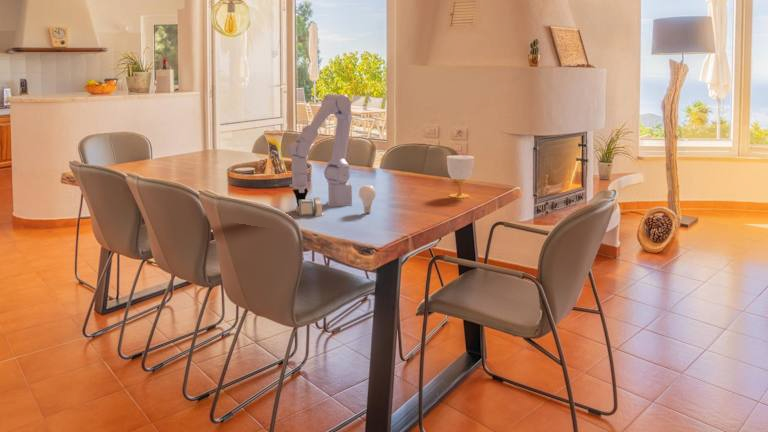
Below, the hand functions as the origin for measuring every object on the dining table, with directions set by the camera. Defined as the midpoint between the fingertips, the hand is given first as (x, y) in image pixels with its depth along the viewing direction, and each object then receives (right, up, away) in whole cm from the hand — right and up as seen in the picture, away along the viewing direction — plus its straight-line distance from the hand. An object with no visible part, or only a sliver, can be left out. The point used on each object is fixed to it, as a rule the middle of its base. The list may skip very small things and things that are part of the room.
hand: (300, 207), depth 247 cm
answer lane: (0, -1, 0) cm, 1 cm away
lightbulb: (+26, -2, -4) cm, 27 cm away
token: (+1, -2, -3) cm, 3 cm away
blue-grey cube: (+3, -2, -7) cm, 8 cm away
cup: (+65, +5, +28) cm, 71 cm away
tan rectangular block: (+7, -2, -4) cm, 9 cm away
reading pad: (+3, -3, -7) cm, 8 cm away
